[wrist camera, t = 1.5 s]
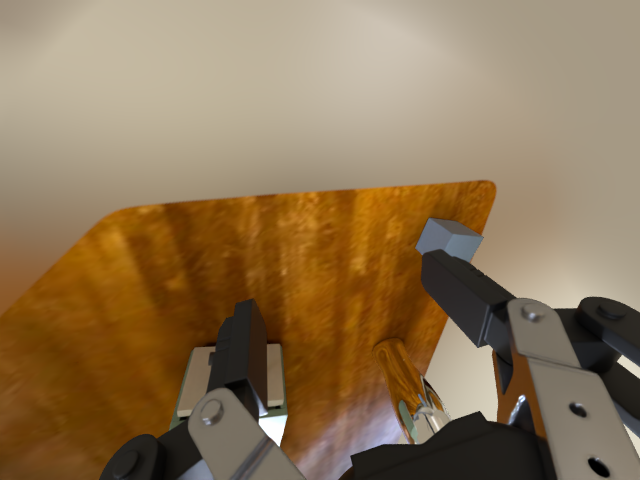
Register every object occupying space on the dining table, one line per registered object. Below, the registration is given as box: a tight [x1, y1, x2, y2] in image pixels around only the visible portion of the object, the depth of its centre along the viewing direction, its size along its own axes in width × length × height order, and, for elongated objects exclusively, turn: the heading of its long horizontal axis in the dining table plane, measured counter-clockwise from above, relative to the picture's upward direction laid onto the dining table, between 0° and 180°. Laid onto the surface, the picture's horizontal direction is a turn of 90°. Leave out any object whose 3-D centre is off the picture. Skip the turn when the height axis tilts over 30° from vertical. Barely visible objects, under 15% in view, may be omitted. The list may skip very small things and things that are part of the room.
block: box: [416, 218, 484, 262], centre depth 30 cm, size 5×5×5 cm
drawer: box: [177, 344, 284, 419], centre depth 32 cm, size 20×11×8 cm, turn 168°
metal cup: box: [372, 338, 452, 444], centre depth 37 cm, size 7×7×15 cm
